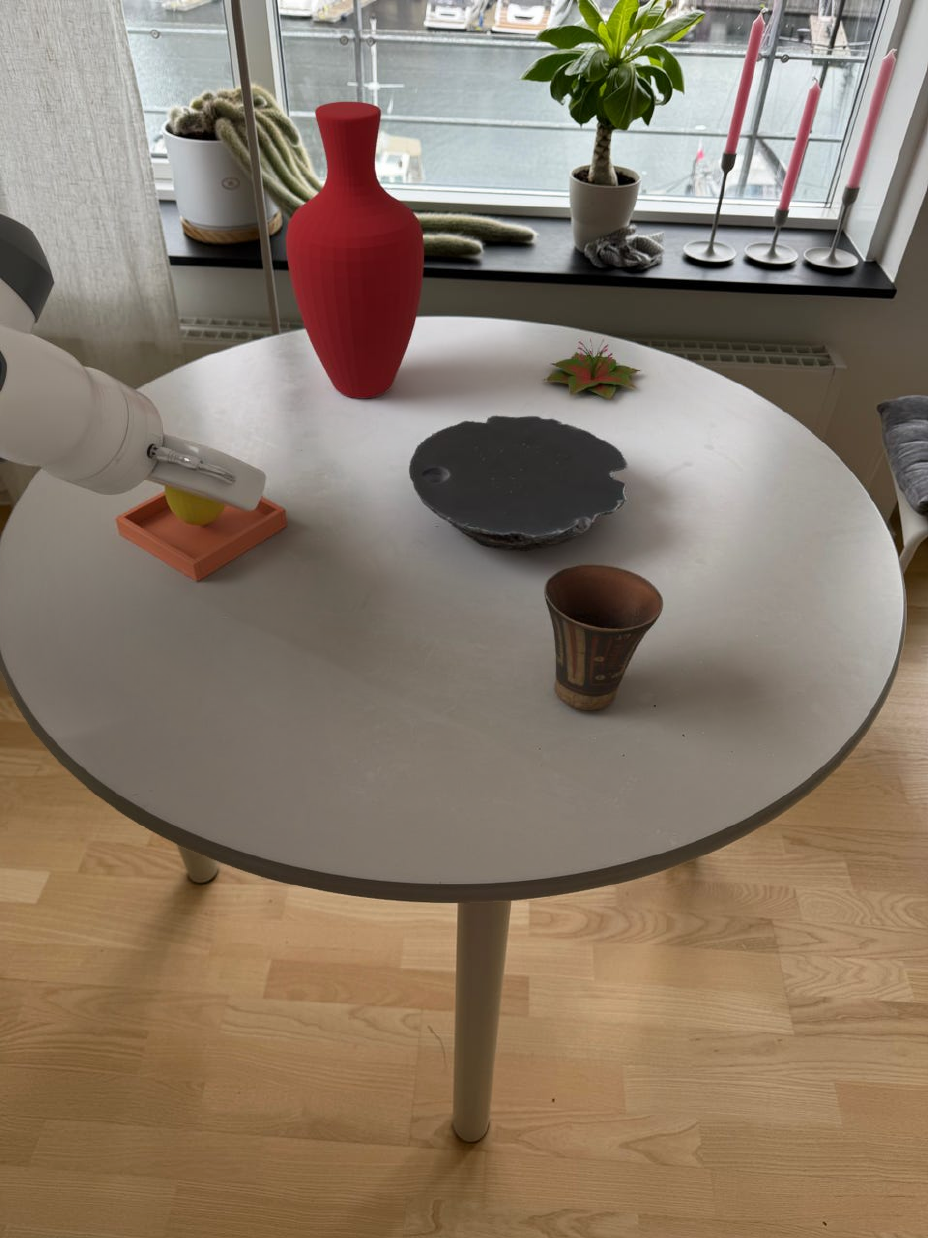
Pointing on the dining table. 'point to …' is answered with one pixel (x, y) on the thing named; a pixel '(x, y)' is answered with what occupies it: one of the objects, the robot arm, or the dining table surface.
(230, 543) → the tray
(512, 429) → the board
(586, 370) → the lily flower
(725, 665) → the dining table surface
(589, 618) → the cup
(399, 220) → the vase
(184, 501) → the lemon
